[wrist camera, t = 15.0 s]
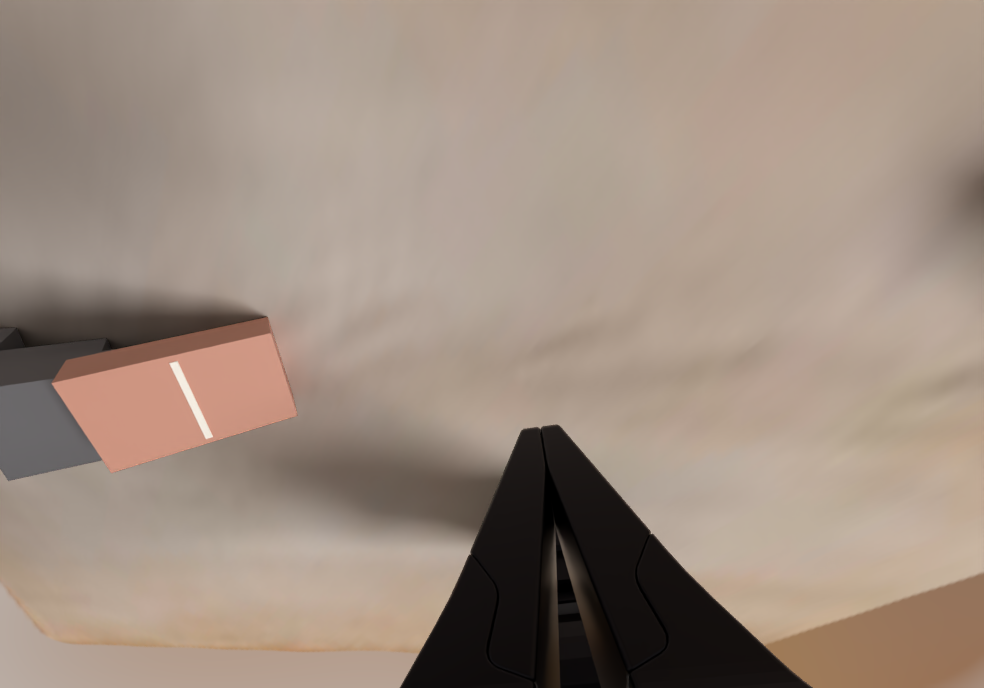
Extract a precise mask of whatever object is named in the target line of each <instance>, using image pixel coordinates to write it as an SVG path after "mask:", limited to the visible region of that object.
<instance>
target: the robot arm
mask: <svg viewBox="0 0 984 688" xmlns="http://www.w3.org/2000/svg"><path fill="white" fill-rule="evenodd" d="M470 553H471V554H470V555H469V556H468V558H467V560H466V563H465V565H464V567H463V570H462V572H461V574H460V577H459V579H458V581H457V583H456V585H455V588H454V590H453V592H452V594H451V596H450V598H449V600H448V602H447V604H446V606H445V608H444V610H443V611H442V613H441V615H440V617H439V619H438V621H437V623H436V625H435V626H434V628H433V630H432V632H431V634H430V635H429V637H428V639H427V641H426V642H425V644H424V646H423V648H422V649H421V651H420V653H419V655H418V657H417V658H416V660H415V662H414V664H413V665H412V667H411V669H410V671H409V673H408V674H407V676H406V678H405V680H404V681H403V683H402V685H401V687H400V688H813V687H811V686H810V685H808V684H807V683H806V682H804V681H803V680H802V679H801V678H800V677H798V676H797V675H796V674H795V673H793V672H792V671H791V670H790V669H789V668H788V667H787V666H786V665H784V664H783V663H782V662H781V661H780V660H779V659H778V658H777V657H776V656H775V655H773V653H771V652H770V651H769V650H768V649H767V648H766V647H765V646H764V645H763V644H762V643H761V642H760V641H759V640H758V639H757V638H756V637H754V636H753V635H752V634H751V633H750V632H749V631H748V630H747V629H746V628H745V627H744V626H743V625H742V624H741V623H740V622H739V621H737V620H736V619H735V618H734V617H733V616H732V615H731V614H730V613H729V612H728V611H727V610H726V609H725V608H724V607H723V606H722V605H720V604H719V603H718V602H717V601H716V600H715V599H714V598H713V597H712V596H711V595H710V594H709V593H708V592H707V591H706V590H705V589H704V588H703V587H702V586H701V585H700V584H699V583H698V582H697V581H696V580H695V579H694V578H693V577H692V576H691V575H690V574H689V573H688V572H687V571H686V570H685V569H684V568H683V567H682V566H681V565H680V564H679V563H678V562H677V560H676V559H675V558H674V557H673V556H672V555H671V554H670V553H669V552H668V551H667V549H666V548H665V547H664V546H663V545H662V544H661V542H660V541H659V540H658V539H657V538H656V537H655V536H654V535H653V534H651V531H650V530H649V529H648V528H647V526H646V525H645V524H644V523H643V522H642V521H641V520H640V518H639V517H638V516H637V515H636V514H635V513H634V511H633V510H632V509H631V508H630V507H629V506H628V504H627V503H626V502H625V501H624V500H623V499H622V497H621V496H620V495H619V494H618V493H617V492H616V490H615V489H614V488H613V487H612V486H611V485H610V483H609V482H608V481H607V480H606V479H605V478H604V477H603V475H602V474H601V473H600V472H599V471H598V470H597V468H596V467H595V466H594V465H593V464H592V463H591V461H590V460H589V459H588V458H587V457H586V456H585V454H584V453H583V452H582V451H581V450H580V449H579V447H578V446H577V445H576V444H575V443H574V442H573V440H572V439H571V438H570V437H569V436H568V435H567V434H566V432H565V431H564V430H563V429H562V428H561V427H560V426H559V425H549V426H543V427H541V430H540V428H538V427H534V428H527V429H523V430H522V431H521V432H520V435H519V437H518V439H517V442H516V444H515V447H514V449H513V451H512V454H511V456H510V458H509V461H508V463H507V466H506V468H505V470H504V473H503V475H502V477H501V480H500V482H499V485H498V487H497V489H496V492H495V494H494V497H493V499H492V501H491V504H490V506H489V508H488V511H487V513H486V516H485V518H484V520H483V523H482V525H481V527H480V530H479V532H478V535H477V537H476V539H475V542H474V544H473V546H472V549H471V551H470Z"/></svg>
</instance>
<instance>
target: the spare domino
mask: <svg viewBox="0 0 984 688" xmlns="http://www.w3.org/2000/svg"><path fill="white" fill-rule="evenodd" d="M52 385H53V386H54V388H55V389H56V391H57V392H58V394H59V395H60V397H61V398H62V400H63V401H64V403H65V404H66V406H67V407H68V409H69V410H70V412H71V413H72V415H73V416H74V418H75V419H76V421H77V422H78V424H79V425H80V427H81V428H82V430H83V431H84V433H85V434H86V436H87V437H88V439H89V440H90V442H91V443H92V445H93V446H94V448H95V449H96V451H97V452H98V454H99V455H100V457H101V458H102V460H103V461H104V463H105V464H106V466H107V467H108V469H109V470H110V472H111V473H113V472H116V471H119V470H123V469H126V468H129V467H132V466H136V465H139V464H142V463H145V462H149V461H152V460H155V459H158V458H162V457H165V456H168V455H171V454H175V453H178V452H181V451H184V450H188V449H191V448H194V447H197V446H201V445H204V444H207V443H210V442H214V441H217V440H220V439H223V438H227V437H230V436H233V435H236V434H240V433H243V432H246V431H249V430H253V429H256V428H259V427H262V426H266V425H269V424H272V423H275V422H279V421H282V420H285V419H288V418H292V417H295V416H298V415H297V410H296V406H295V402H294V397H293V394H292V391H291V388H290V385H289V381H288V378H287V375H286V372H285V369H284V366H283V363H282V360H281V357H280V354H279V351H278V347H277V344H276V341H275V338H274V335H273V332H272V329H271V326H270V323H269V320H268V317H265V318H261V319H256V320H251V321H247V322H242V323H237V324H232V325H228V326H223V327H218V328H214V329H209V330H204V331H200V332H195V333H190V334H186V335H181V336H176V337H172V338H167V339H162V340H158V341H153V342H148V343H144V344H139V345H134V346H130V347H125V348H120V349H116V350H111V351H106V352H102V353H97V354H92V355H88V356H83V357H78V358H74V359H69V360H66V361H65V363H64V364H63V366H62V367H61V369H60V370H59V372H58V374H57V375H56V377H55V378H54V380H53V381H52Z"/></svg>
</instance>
